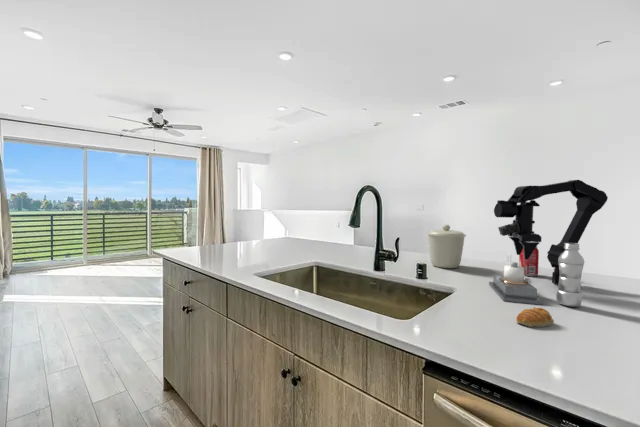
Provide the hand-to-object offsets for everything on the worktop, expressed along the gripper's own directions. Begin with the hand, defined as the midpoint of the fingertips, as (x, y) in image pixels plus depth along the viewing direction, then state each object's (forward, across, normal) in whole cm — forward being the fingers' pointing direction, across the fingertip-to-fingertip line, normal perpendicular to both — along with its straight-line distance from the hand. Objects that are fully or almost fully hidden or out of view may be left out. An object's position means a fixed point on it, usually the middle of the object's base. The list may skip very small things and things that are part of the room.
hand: (522, 256), depth 118 cm
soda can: (+11, -18, +8) cm, 23 cm away
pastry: (+12, +42, -9) cm, 44 cm away
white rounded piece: (+6, +15, -7) cm, 18 cm away
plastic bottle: (+11, +23, +6) cm, 26 cm away
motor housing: (+11, +15, -7) cm, 20 cm away
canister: (+11, -24, -26) cm, 37 cm away
